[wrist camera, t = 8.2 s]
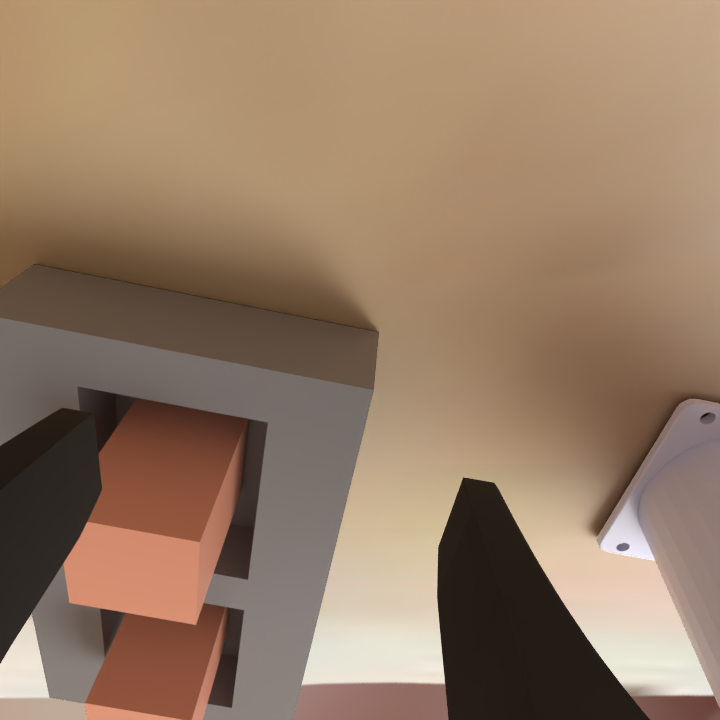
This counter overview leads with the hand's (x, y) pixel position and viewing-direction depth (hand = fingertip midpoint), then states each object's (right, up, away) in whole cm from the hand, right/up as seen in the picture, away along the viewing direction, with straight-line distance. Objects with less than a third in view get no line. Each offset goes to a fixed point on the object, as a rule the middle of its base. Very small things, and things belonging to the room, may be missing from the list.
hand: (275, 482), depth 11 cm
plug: (-5, -1, +11) cm, 12 cm away
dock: (-6, -5, +14) cm, 16 cm away
